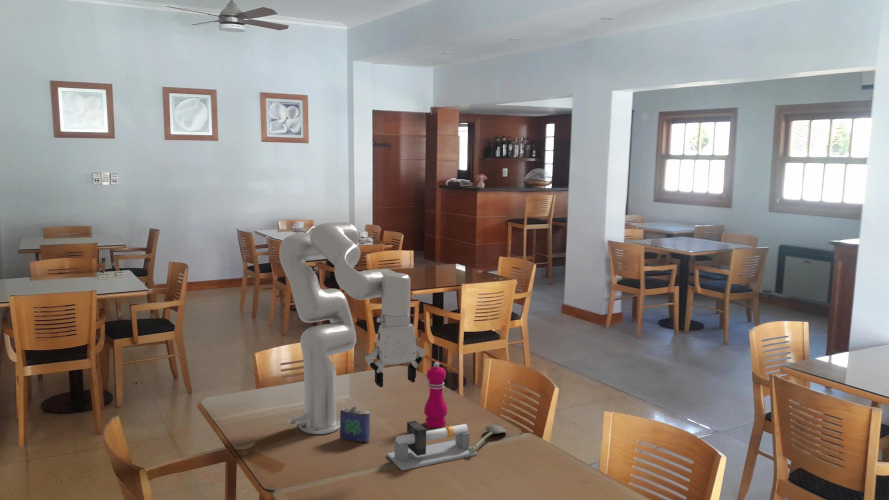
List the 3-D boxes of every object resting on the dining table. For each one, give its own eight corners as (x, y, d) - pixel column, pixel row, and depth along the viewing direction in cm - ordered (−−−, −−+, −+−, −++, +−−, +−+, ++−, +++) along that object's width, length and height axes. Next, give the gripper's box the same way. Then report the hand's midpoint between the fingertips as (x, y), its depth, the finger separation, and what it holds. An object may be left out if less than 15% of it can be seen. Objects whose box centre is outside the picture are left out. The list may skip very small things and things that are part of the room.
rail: (401, 470, 178) (402, 444, 177) (387, 455, 187) (387, 430, 186) (477, 454, 189) (477, 429, 188) (459, 441, 198) (460, 417, 197)
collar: (417, 455, 182) (417, 430, 181) (406, 446, 188) (407, 421, 187) (425, 454, 183) (426, 429, 182) (415, 444, 189) (415, 420, 188)
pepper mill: (444, 429, 206) (445, 366, 204) (421, 427, 208) (422, 364, 205) (449, 421, 213) (450, 359, 211) (426, 418, 215) (427, 358, 212)
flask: (371, 440, 197) (371, 405, 196) (367, 444, 195) (367, 408, 193) (342, 436, 200) (341, 401, 199) (338, 440, 197) (337, 405, 196)
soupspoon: (510, 434, 205) (490, 431, 208) (510, 423, 205) (491, 420, 208) (481, 455, 186) (459, 451, 189) (481, 443, 185) (459, 439, 188)
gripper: (370, 326, 171) (370, 392, 173) (431, 319, 179) (430, 383, 181) (359, 320, 177) (360, 383, 179) (419, 314, 185) (418, 375, 187)
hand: (395, 383), depth 180 cm, fingers open, 8 cm apart
